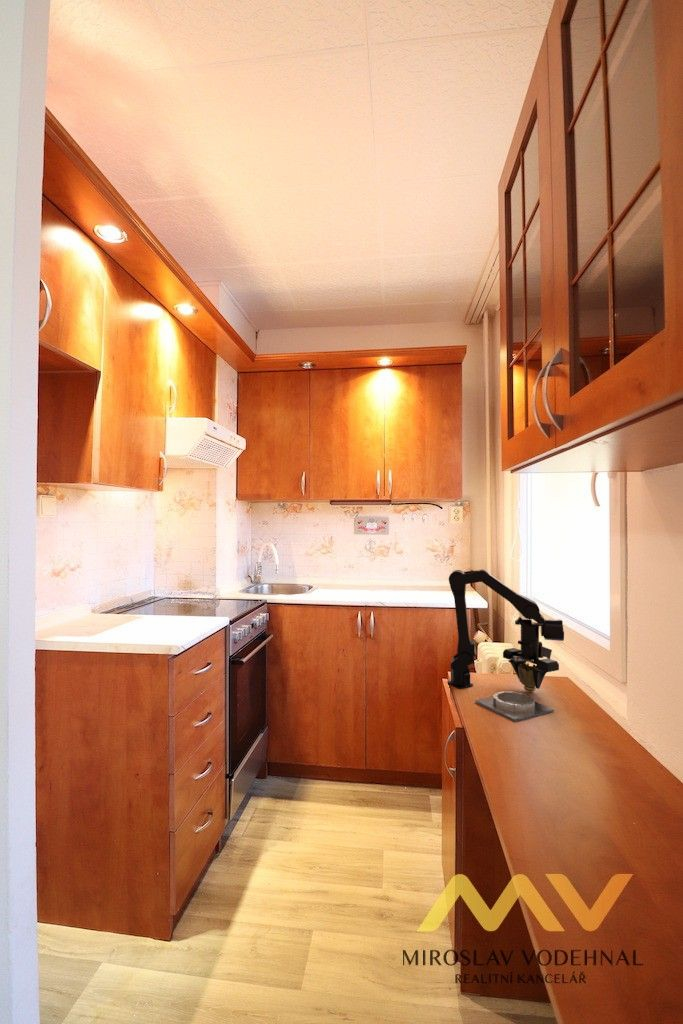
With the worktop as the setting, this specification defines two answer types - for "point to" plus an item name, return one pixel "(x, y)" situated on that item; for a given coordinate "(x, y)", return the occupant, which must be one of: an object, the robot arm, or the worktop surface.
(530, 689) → the cup
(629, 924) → the worktop surface
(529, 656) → the robot arm
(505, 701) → the cup bracket
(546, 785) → the worktop surface
